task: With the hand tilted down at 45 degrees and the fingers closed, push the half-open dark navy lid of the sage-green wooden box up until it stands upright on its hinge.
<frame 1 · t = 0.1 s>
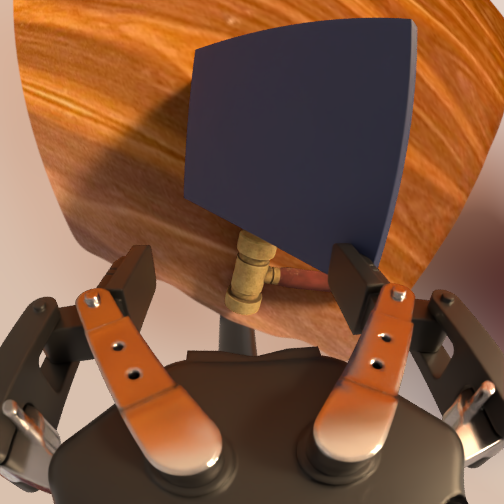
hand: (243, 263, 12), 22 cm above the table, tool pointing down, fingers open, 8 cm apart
gavel: (307, 272, 38), on the table
lid: (262, 129, 15), point 16 cm above the table, hinge at 52.8°, touching gripper
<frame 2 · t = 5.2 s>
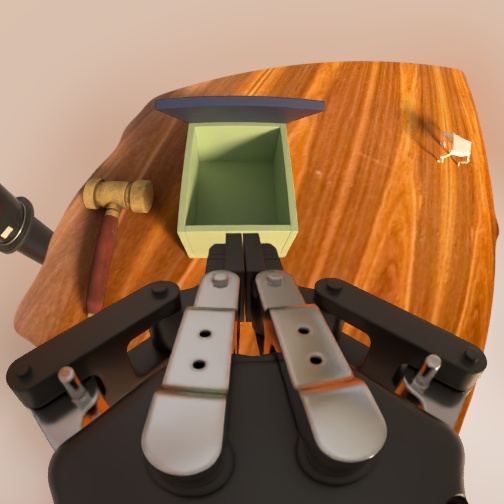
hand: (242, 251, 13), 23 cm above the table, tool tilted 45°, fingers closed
gavel: (109, 254, 37), on the table
lid: (238, 112, 26), point 16 cm above the table, hinge at 49.4°
box: (236, 204, 40), on the table
origami figure: (447, 157, 47), on the table
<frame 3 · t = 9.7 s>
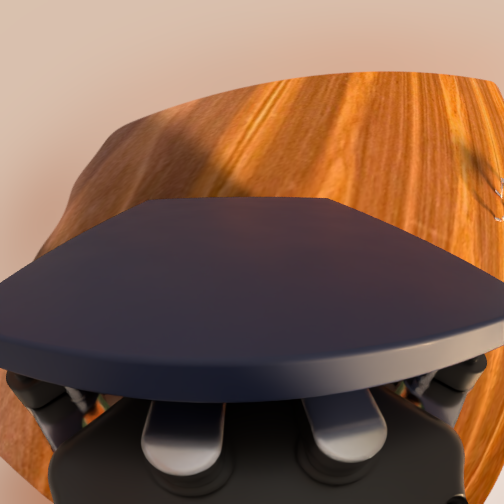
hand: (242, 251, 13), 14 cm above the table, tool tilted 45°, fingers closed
lid: (243, 230, 11), point 16 cm above the table, hinge at 54.1°, touching gripper
origami figure: (502, 211, 33), on the table
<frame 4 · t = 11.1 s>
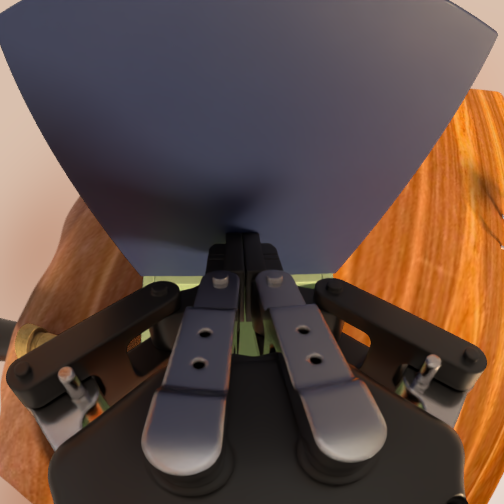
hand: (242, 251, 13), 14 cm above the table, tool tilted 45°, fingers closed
gavel: (71, 427, 21), on the table
lid: (241, 186, 10), point 17 cm above the table, hinge at 96.4°, touching gripper
box: (239, 378, 24), on the table
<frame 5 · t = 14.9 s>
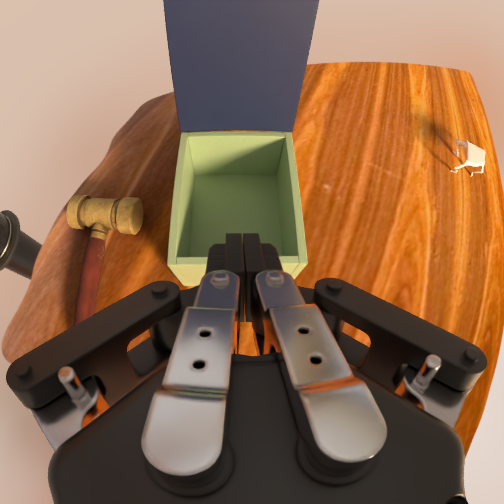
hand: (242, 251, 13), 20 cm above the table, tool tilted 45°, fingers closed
gavel: (96, 279, 33), on the table
lid: (238, 65, 22), point 17 cm above the table, hinge at 96.5°
box: (235, 224, 36), on the table
origami figure: (460, 167, 44), on the table
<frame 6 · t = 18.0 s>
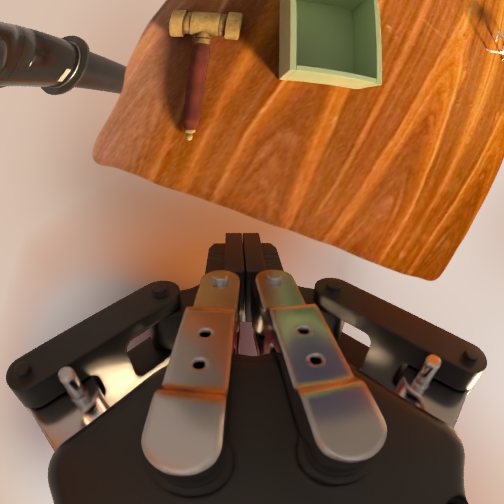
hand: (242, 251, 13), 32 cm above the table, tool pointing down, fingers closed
gavel: (199, 74, 36), on the table
box: (319, 39, 34), on the table
origami figure: (494, 49, 31), on the table
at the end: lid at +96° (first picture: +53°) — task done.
